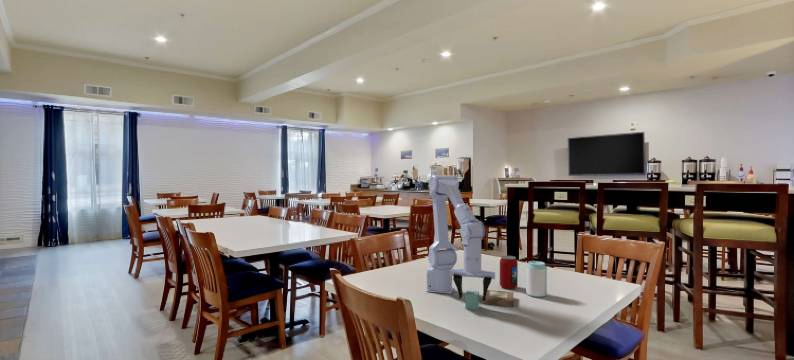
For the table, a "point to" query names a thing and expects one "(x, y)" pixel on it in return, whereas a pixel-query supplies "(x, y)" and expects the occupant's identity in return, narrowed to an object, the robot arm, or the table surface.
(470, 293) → the teal block
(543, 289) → the can
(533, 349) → the table surface
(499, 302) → the walnut base
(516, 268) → the beverage can
